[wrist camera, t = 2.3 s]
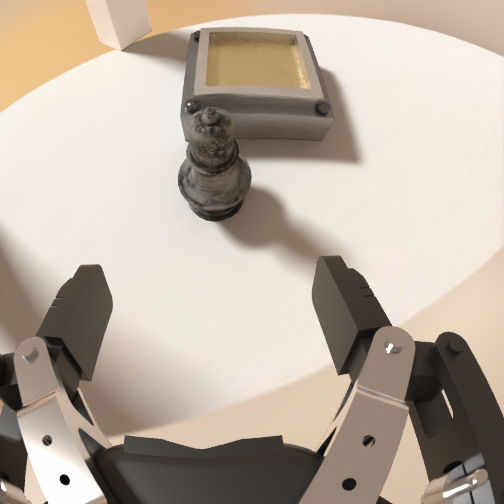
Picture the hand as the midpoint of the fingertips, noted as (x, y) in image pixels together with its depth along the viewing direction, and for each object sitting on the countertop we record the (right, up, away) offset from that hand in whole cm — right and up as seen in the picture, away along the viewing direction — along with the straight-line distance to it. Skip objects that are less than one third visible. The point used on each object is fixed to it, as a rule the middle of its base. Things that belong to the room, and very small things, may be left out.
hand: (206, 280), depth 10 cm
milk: (-17, +33, +20) cm, 42 cm away
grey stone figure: (-2, +6, +15) cm, 17 cm away
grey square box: (+2, +19, +18) cm, 26 cm away
